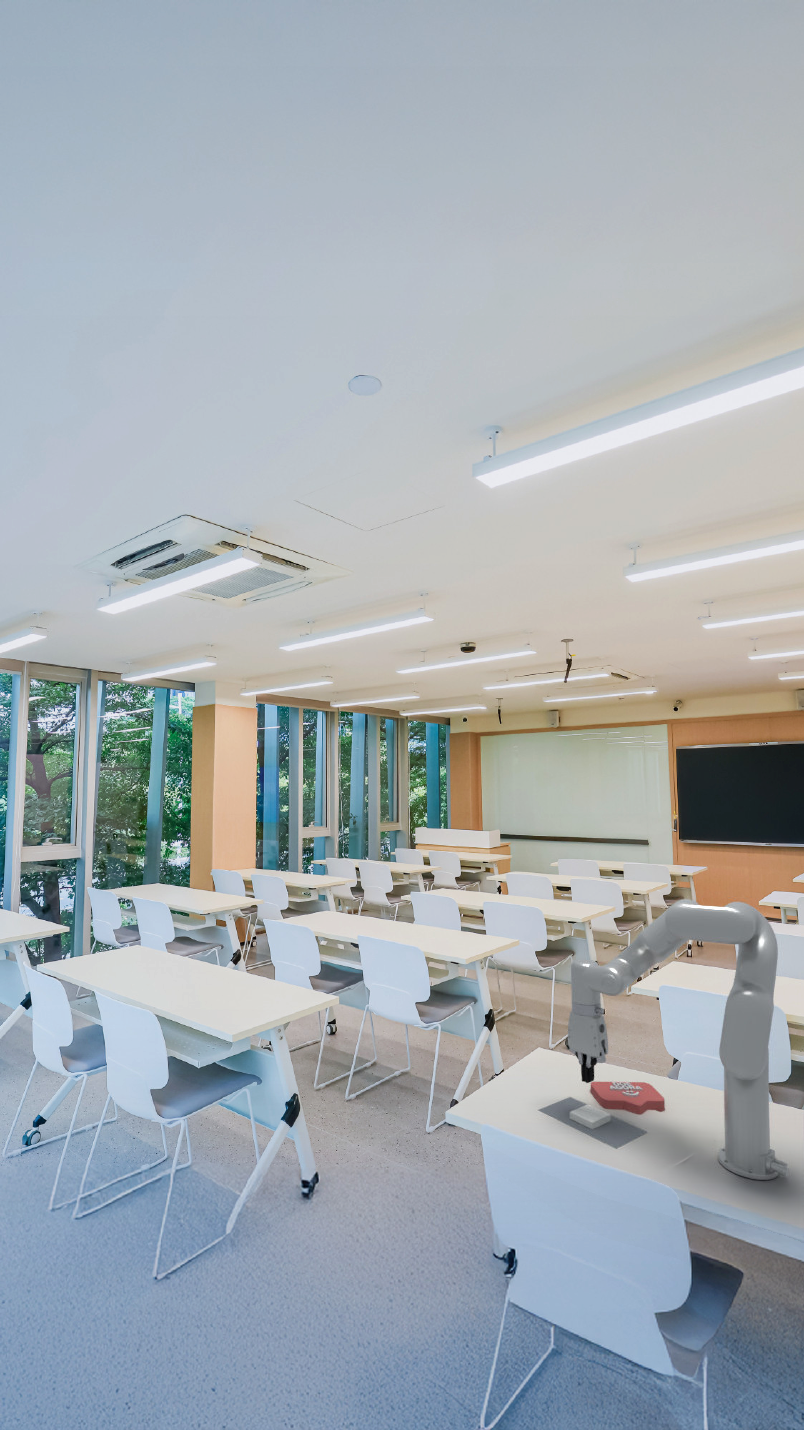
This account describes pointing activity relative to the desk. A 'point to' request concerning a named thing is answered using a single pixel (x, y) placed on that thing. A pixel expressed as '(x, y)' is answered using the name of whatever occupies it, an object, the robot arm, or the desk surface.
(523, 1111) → the desk surface
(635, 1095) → the plaque
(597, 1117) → the tile
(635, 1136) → the tile mat
